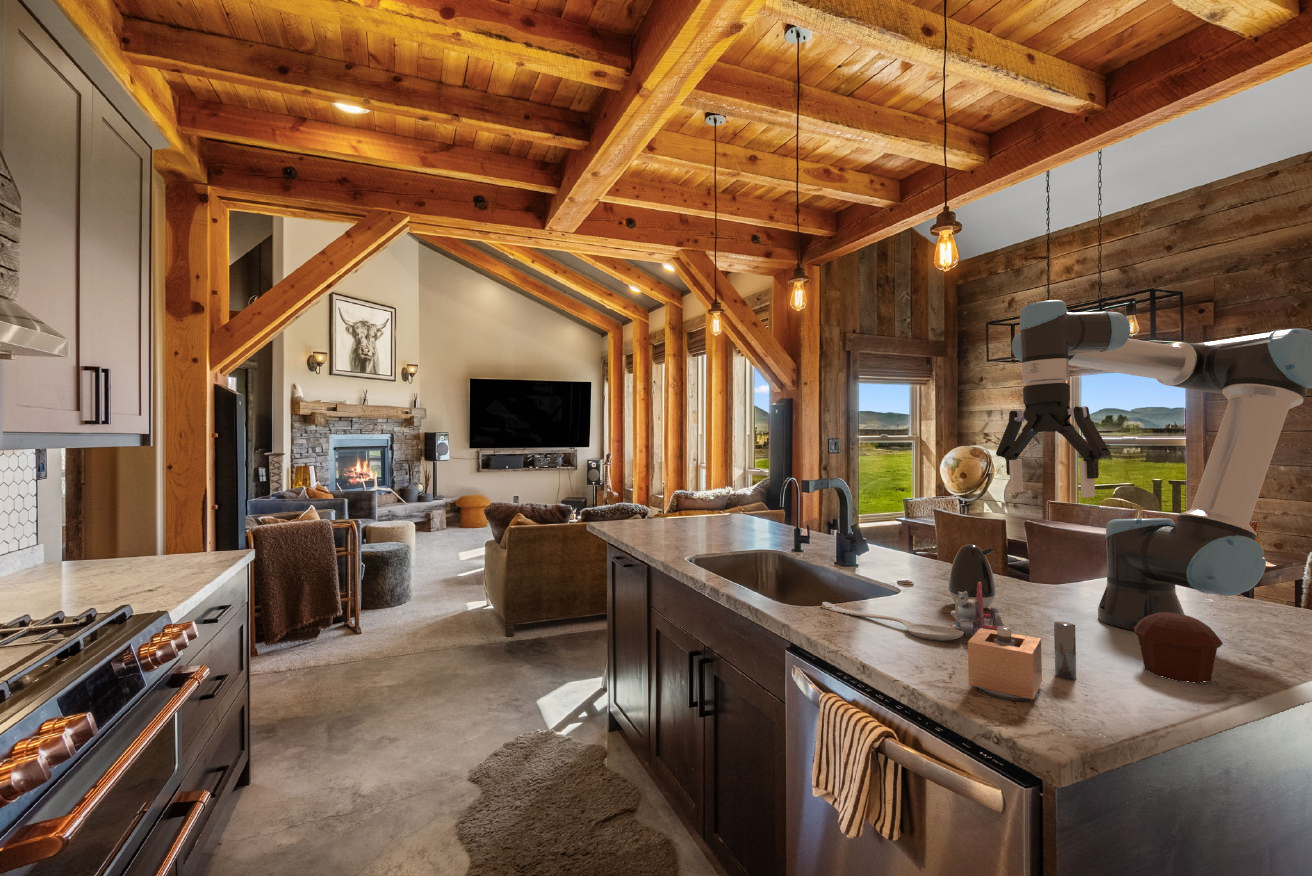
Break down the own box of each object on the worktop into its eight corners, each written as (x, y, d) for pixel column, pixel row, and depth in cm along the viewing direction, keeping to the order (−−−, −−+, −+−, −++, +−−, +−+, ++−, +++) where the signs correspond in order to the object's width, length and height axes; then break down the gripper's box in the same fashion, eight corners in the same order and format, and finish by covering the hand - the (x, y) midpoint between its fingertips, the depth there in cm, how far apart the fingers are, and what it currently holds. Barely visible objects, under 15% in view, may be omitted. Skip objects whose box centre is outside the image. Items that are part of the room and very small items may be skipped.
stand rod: (1063, 671, 104) (1062, 620, 104) (1080, 678, 101) (1079, 625, 101) (1051, 674, 103) (1049, 622, 103) (1068, 681, 100) (1067, 627, 100)
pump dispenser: (1006, 612, 140) (1004, 547, 140) (961, 612, 140) (960, 548, 140) (982, 600, 150) (981, 540, 150) (941, 601, 150) (940, 541, 150)
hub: (1001, 675, 103) (1000, 617, 103) (1051, 695, 95) (1050, 632, 95) (961, 683, 100) (960, 623, 100) (1009, 705, 91) (1008, 640, 92)
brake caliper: (1022, 634, 117) (979, 583, 120) (972, 662, 120) (932, 612, 123) (1013, 618, 127) (973, 571, 130) (967, 645, 130) (930, 598, 133)
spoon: (973, 642, 120) (972, 629, 121) (951, 649, 116) (951, 635, 116) (834, 610, 149) (833, 599, 150) (812, 615, 145) (812, 604, 145)
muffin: (1118, 663, 107) (1116, 608, 107) (1165, 657, 110) (1164, 603, 110) (1190, 690, 96) (1189, 628, 96) (1241, 683, 98) (1240, 622, 98)
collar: (981, 667, 104) (980, 627, 104) (1041, 680, 98) (1041, 638, 98) (968, 684, 97) (967, 641, 97) (1033, 699, 91) (1032, 653, 91)
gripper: (974, 389, 124) (978, 491, 124) (1103, 375, 101) (1109, 500, 101) (999, 389, 127) (1003, 488, 126) (1130, 376, 104) (1136, 497, 103)
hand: (1050, 494), depth 114 cm, fingers open, 13 cm apart
